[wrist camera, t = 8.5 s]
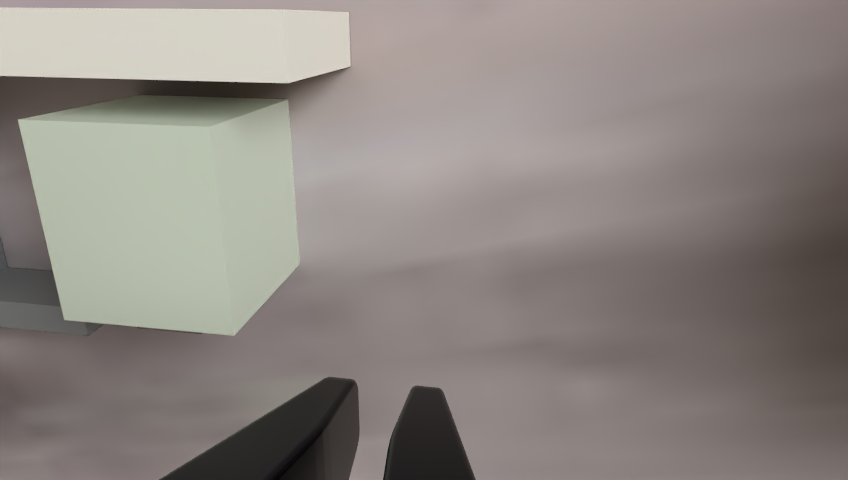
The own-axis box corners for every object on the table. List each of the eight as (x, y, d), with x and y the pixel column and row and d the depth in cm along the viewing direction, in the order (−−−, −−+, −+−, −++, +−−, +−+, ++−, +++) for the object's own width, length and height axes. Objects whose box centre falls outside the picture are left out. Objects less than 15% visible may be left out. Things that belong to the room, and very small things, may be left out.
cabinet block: (301, 279, 21) (236, 355, 16) (168, 269, 21) (68, 338, 17) (289, 99, 18) (209, 126, 14) (140, 94, 19) (18, 119, 14)
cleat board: (359, 321, 21) (310, 409, 16) (-10, 289, 23) (-147, 359, 18) (348, 12, 17) (282, 9, 12) (-86, 8, 19) (-280, 5, 15)
